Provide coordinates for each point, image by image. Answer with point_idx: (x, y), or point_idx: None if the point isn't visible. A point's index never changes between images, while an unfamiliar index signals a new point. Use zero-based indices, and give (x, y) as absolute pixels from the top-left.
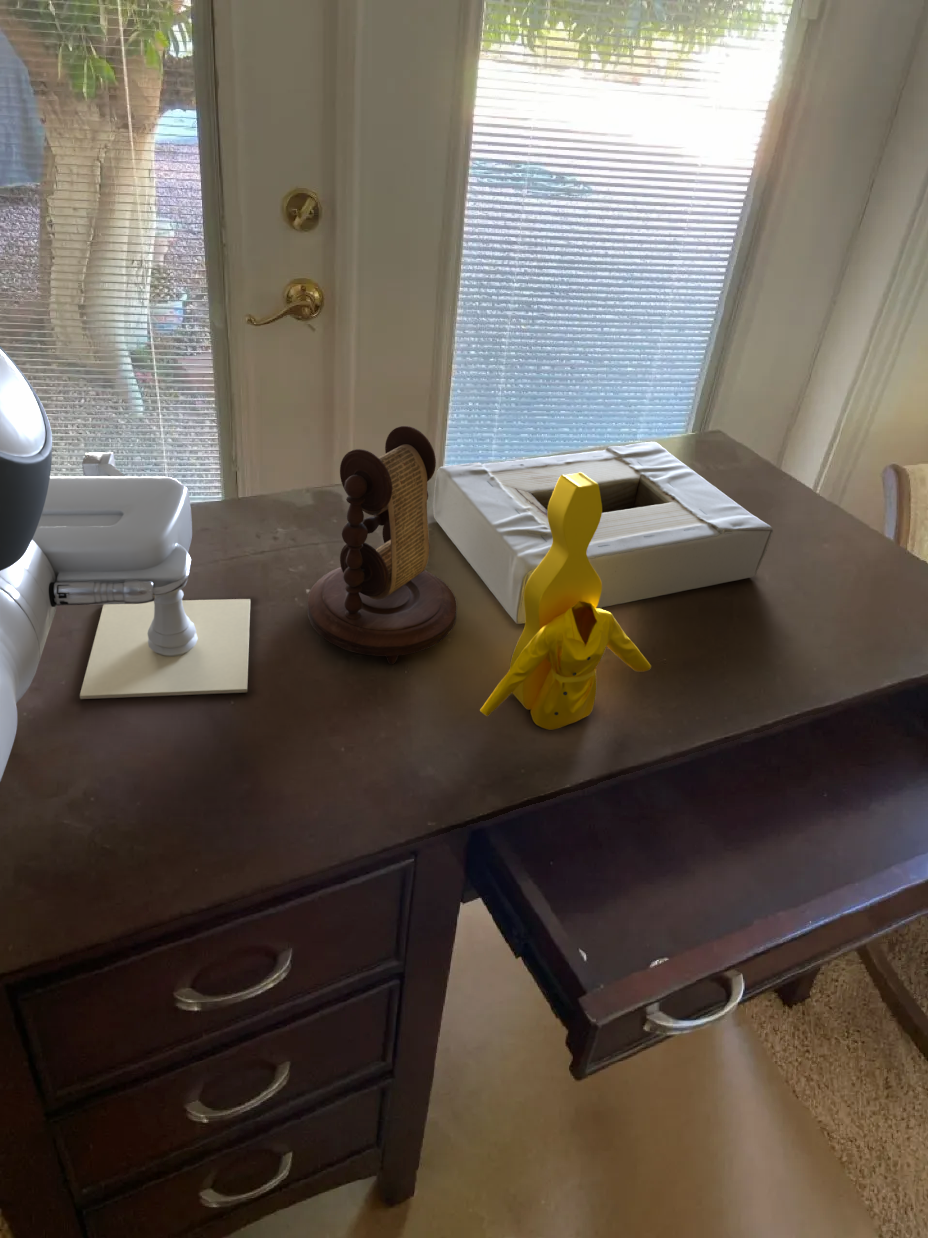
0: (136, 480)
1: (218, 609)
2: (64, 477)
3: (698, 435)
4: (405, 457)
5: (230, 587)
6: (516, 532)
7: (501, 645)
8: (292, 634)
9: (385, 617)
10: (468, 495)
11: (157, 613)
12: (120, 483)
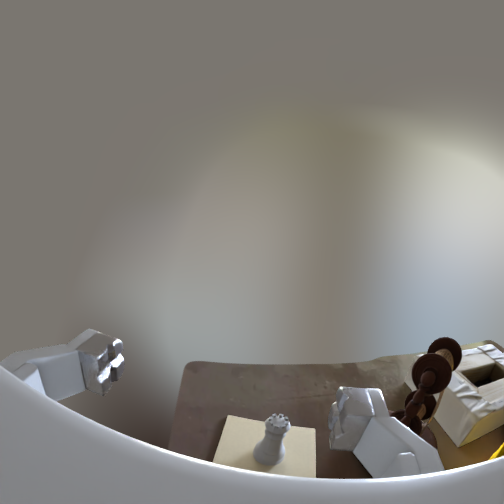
0: (499, 476)
1: (296, 434)
2: (366, 487)
3: (486, 340)
4: (448, 358)
5: (302, 417)
6: (465, 396)
7: (453, 461)
8: (341, 456)
9: None
10: None
11: (266, 441)
12: (482, 492)
